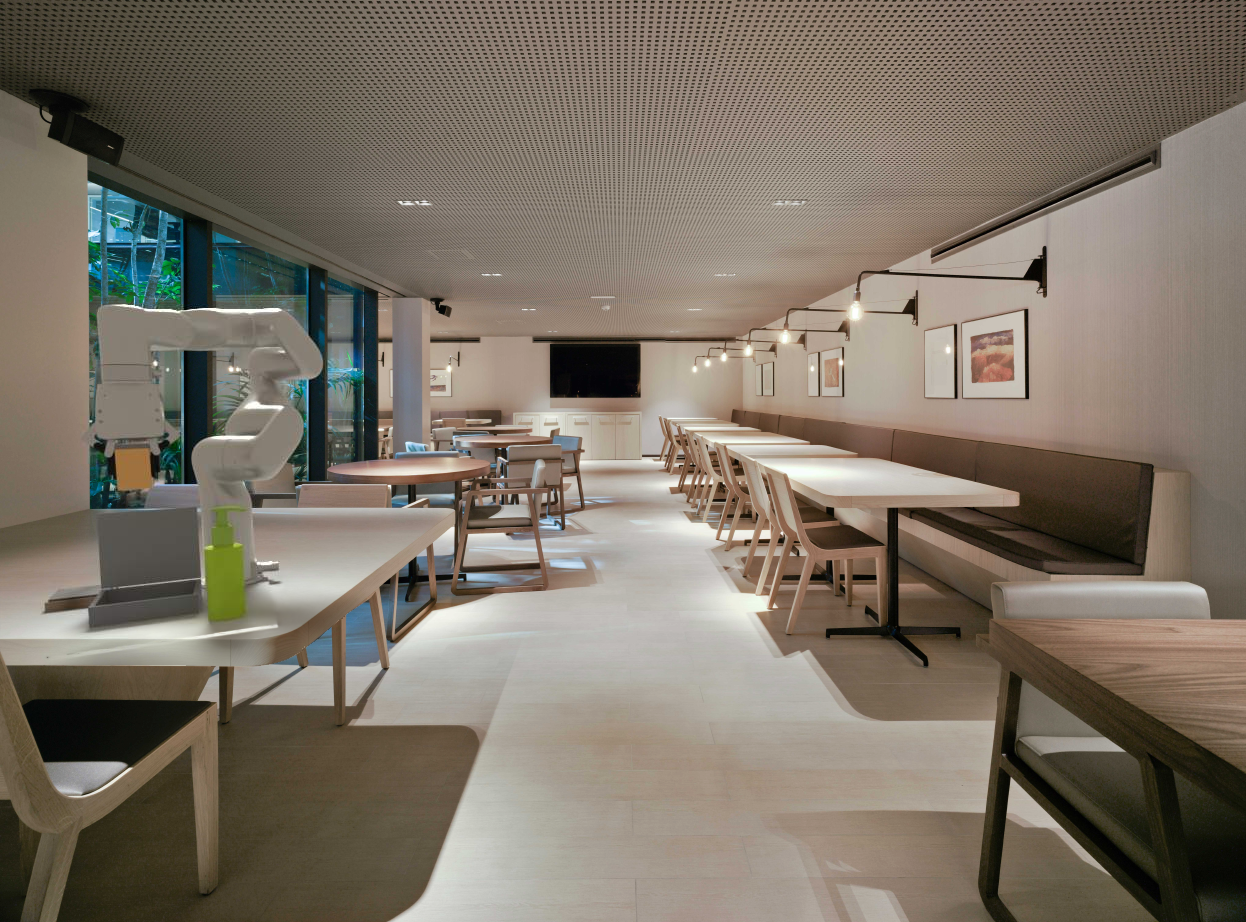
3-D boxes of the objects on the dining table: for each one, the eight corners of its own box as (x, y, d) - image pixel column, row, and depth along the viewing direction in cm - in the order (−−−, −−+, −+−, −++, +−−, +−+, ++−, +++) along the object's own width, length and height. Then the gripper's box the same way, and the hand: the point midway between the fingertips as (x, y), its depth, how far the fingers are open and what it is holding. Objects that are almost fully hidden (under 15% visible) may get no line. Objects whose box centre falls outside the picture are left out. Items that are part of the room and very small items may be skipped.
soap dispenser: (249, 621, 124) (242, 508, 123) (204, 625, 122) (197, 510, 121) (256, 612, 130) (249, 503, 128) (213, 616, 128) (206, 506, 126)
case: (202, 598, 140) (201, 578, 140) (199, 616, 128) (198, 594, 128) (102, 611, 133) (101, 590, 132) (89, 631, 120) (87, 607, 120)
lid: (200, 577, 140) (201, 576, 141) (196, 506, 140) (197, 506, 141) (101, 588, 132) (102, 588, 134) (96, 513, 132) (98, 513, 134)
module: (153, 485, 132) (150, 442, 131) (151, 488, 127) (148, 443, 127) (120, 487, 129) (117, 443, 128) (117, 490, 125) (114, 445, 124)
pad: (118, 594, 144) (118, 582, 144) (111, 606, 136) (110, 593, 136) (57, 602, 140) (56, 589, 139) (45, 614, 131) (44, 600, 131)
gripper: (184, 377, 134) (190, 473, 135) (71, 377, 125) (79, 479, 127) (183, 375, 128) (190, 476, 129) (63, 375, 119) (72, 483, 120)
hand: (135, 476), depth 128 cm, fingers closed on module, 5 cm apart
